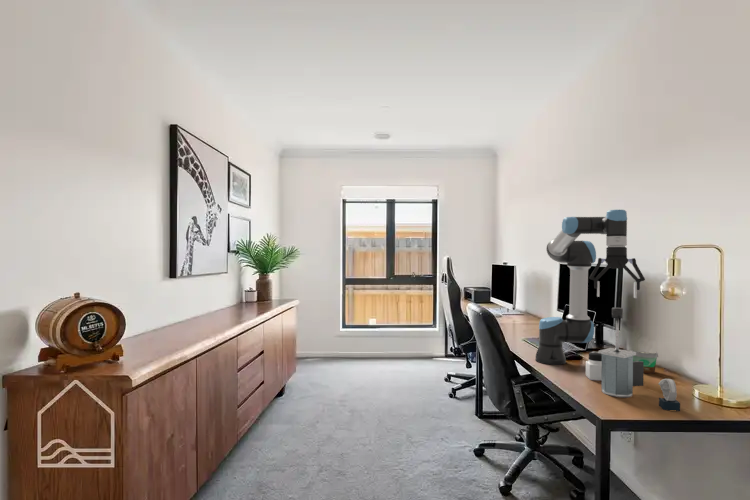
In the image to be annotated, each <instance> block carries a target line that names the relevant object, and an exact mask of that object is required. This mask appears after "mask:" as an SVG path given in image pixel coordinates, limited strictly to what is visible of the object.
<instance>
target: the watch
mask: <svg viewBox="0 0 750 500" xmlns="http://www.w3.org/2000/svg"><path fill="white" fill-rule="evenodd" d="M658 385H659V386H660V387H659V388H660V390H661V391H662V396H663V398H662V397H658V407H659V408H660V409H662V410H663V411H670V410H676V411H675V412H681V402H680V401H679V400H677V395H678V393H677V385H676V382H675V380H674V379H673V378H672V379H671V378H662V379H661V380H660V381H659V382H658Z"/></svg>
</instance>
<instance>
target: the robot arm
mask: <svg viewBox="0 0 750 500" xmlns="http://www.w3.org/2000/svg"><path fill="white" fill-rule="evenodd" d="M605 214H606V215H605V216H567V217H566V216H565V217H563V219H562V222H561V230H560V232H559V233H558V234H557V235H556V236H555V238H552V239H550V240H549V242H548V243H547V244H546V253H547V255H548V257H549V258H550V259H552V260H553V261H555V262H557V263H562V264H563V263H564V264H565V263H566V266H567V267H568V268H569V275H570V276H569V304H568V305H569V307H568V308H569V309H568V310H569V311H568V314H567V315H566V316H565V319H563V318H562V317H561V316H548V317H543V318H541V319H540V320H539V323H538V331H539V332H538V348H537V351H536V354H535V361H536V362H538V363H541V364H545V365H554V366H557V365H565V364H566V363H567V359H566V355H565V352H564V349H563V348H564V347H563V343H578V344H587V343H590V342H591V341H592V340H593V338H594V334H595V323H594V322H593V320H591V317H590V316H588V291H589V290H588V289H589V288H588V287H589V285H588V283H589V280H590V281H591V280H592V281H593V287H594V289H596V297H597V298H598V297H599V298H600V293H601V292H600V287H601V285H600V282H601V281H599V279H601V278H602V276H604V275H605V274H606V272H607V271H608V270H609V269H612V270H615V269H618V270H621V269H624V271H625V272H626V273H627V274H628V275H629V276H630V277H631V278H632V279H633V280H634V282H633V298H634V299H638V293H637V292H638V291H640V289H641V287H640V285H641V282H644V281H646V278H645V277H644V275H643V273H642V272H641V269H640V267H639V266H638V264H637V260H636V258H628V247H627V245H628V238H627V237H628V229H627V228H628V214H627V211H626V210H625V209H609V210H607V211H606V213H605ZM586 234H587V235H589V234H590V235H591V234H593V235H594V234H595V235H597V234H598V235H599V234H600V235H606V237H605V238H606V242H605V243H606V246H607V247H605V251H606V257H605V258H601V257H599V258H597V250H596V248H595V245H594V243H593V242H592V241H588V240H576V239H577V238H578V237H579V236H581V235H586ZM596 259H597V264H596V265H595V267H594V269H593V271H592V272H591V274H590V275H589V270H590V269H591V267H592V264H594V263H596ZM604 262H605V264H606V265H605V267H604V268H603V269H602V270H601V271H600V272H599V273H598V270H599V268H600V266H601V265H602V264H603V263H604ZM628 263H630V264H631V265H632V266H633V268H634V270H635V271H636V273H637V275H638V276H636V275H635V274H634V272H633V271H632V270H631V269H630V268H629V267H628V266H627V264H628ZM597 273H598V274H597ZM596 274H597V275H596ZM595 276H596V277H595Z"/></svg>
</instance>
